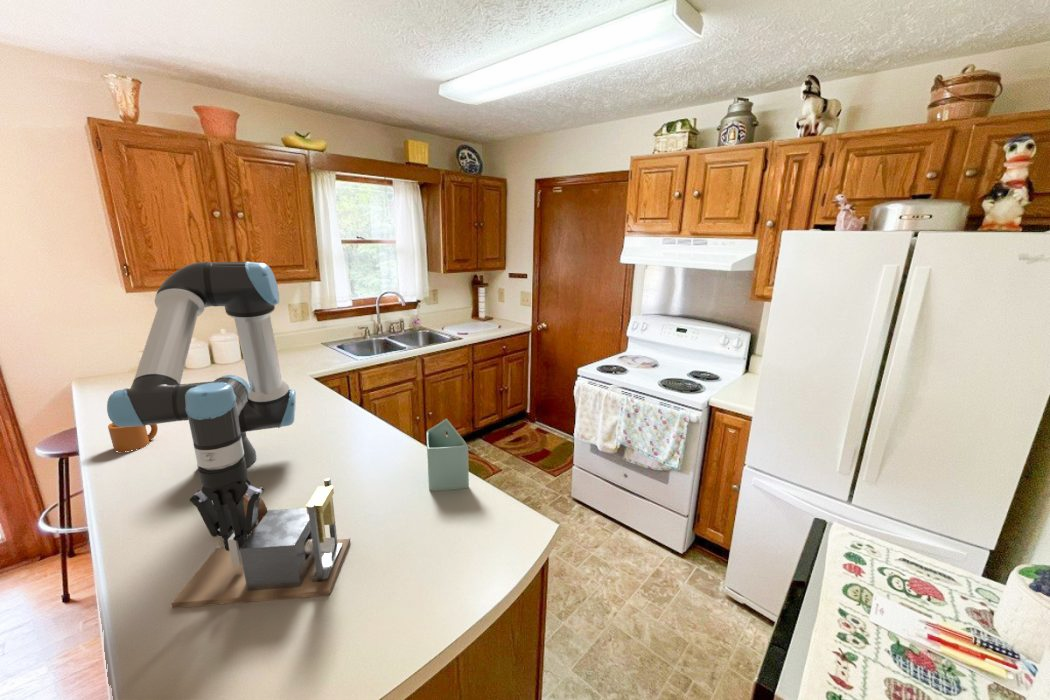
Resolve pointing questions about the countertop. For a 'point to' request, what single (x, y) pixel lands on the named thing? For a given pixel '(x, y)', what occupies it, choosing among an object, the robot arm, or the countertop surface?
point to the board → (229, 584)
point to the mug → (130, 437)
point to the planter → (446, 458)
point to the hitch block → (286, 549)
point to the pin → (325, 547)
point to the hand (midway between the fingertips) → (239, 561)
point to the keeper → (323, 508)
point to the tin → (261, 510)
